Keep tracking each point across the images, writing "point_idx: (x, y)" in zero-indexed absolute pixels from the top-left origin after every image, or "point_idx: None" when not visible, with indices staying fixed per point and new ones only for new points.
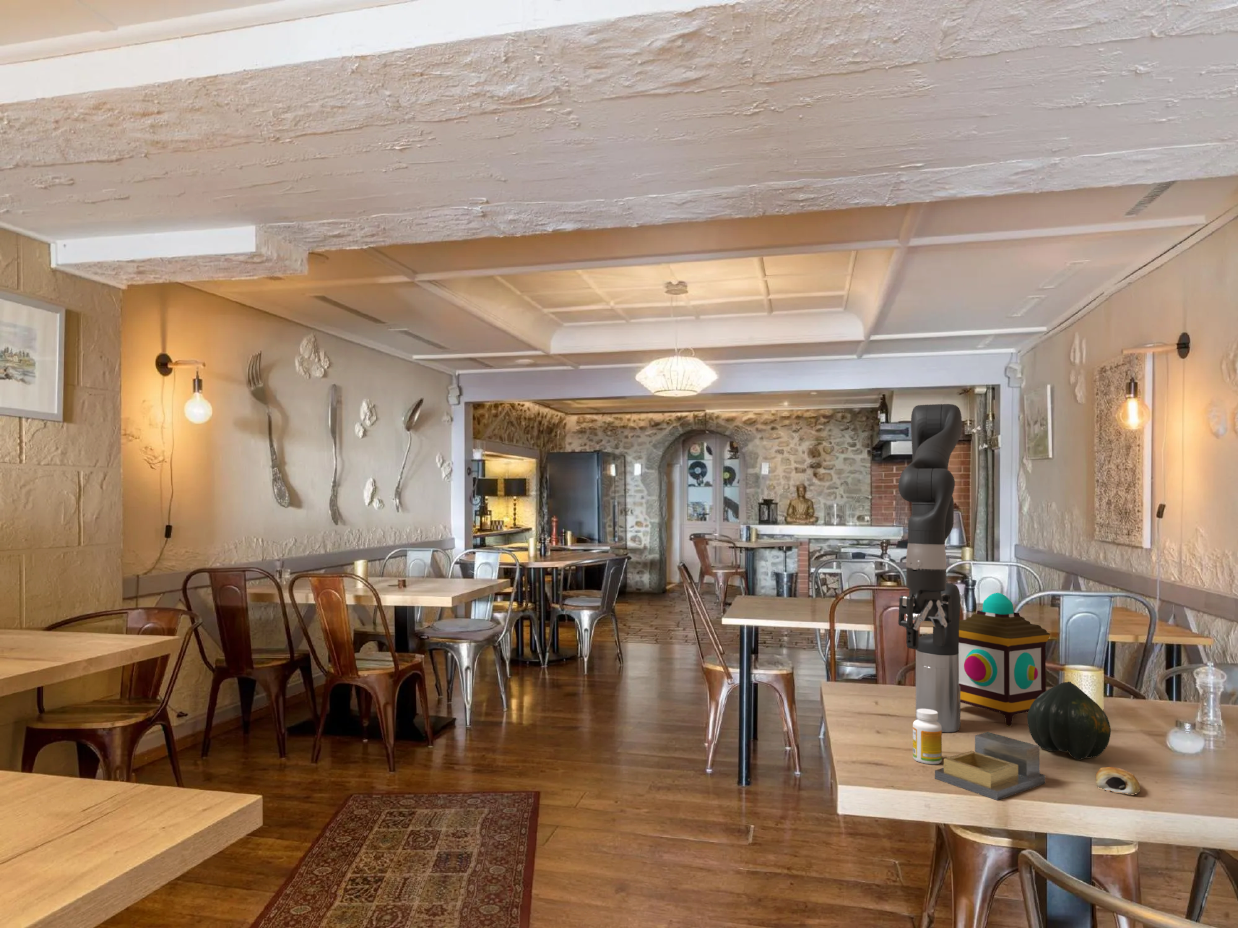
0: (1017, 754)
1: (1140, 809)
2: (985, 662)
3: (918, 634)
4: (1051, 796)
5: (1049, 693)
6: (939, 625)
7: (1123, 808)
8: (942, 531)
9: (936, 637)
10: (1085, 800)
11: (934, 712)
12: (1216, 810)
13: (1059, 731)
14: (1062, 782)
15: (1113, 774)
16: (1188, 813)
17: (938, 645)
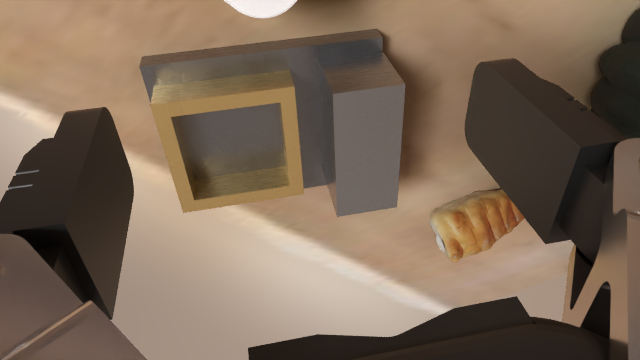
0: (332, 187)
1: (386, 275)
2: None
3: (116, 283)
4: (310, 210)
5: None
6: (577, 225)
7: (367, 268)
8: None
9: (503, 124)
10: (348, 236)
11: (275, 3)
12: (477, 298)
13: (608, 122)
14: (409, 173)
15: (446, 250)
16: (430, 296)
17: (470, 104)
